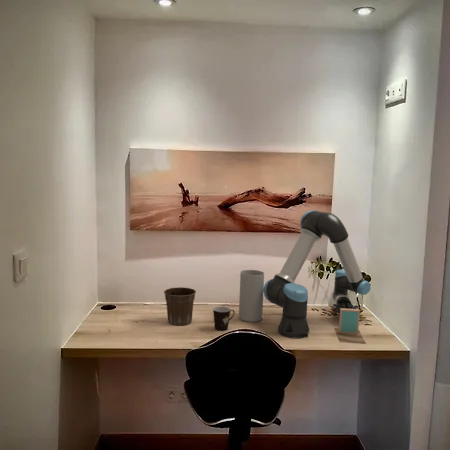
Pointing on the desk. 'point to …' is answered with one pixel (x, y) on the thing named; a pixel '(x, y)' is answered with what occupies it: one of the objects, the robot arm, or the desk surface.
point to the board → (350, 337)
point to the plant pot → (179, 305)
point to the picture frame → (349, 321)
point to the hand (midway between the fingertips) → (351, 317)
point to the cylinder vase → (251, 295)
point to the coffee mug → (222, 318)
